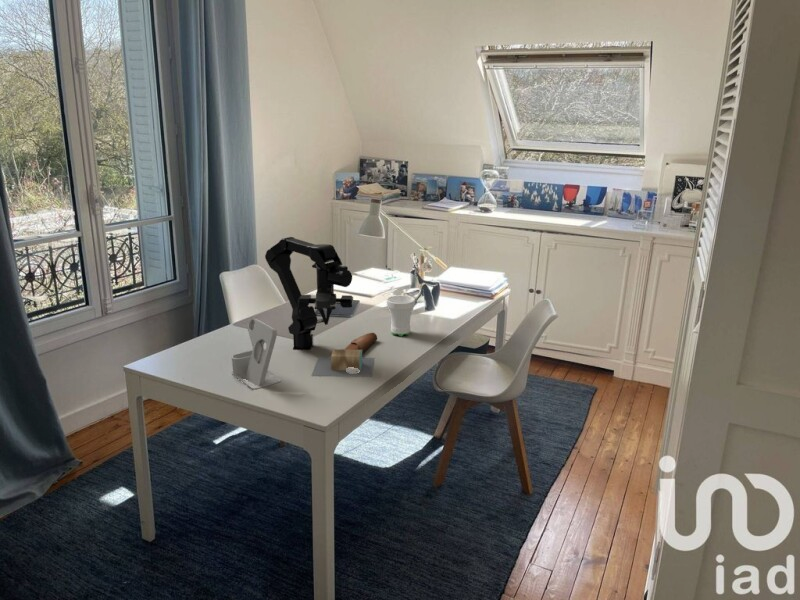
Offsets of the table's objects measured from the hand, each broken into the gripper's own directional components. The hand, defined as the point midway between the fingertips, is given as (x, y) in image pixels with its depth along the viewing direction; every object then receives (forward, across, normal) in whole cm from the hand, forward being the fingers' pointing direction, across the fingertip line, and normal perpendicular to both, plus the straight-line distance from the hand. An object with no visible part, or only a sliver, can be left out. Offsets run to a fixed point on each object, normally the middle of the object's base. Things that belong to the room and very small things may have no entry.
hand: (326, 324), depth 212 cm
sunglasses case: (+13, +11, +8) cm, 19 cm away
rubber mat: (+12, +7, -10) cm, 17 cm away
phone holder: (+12, -21, -19) cm, 31 cm away
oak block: (+9, +3, -10) cm, 14 cm away
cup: (+12, +26, +24) cm, 37 cm away
